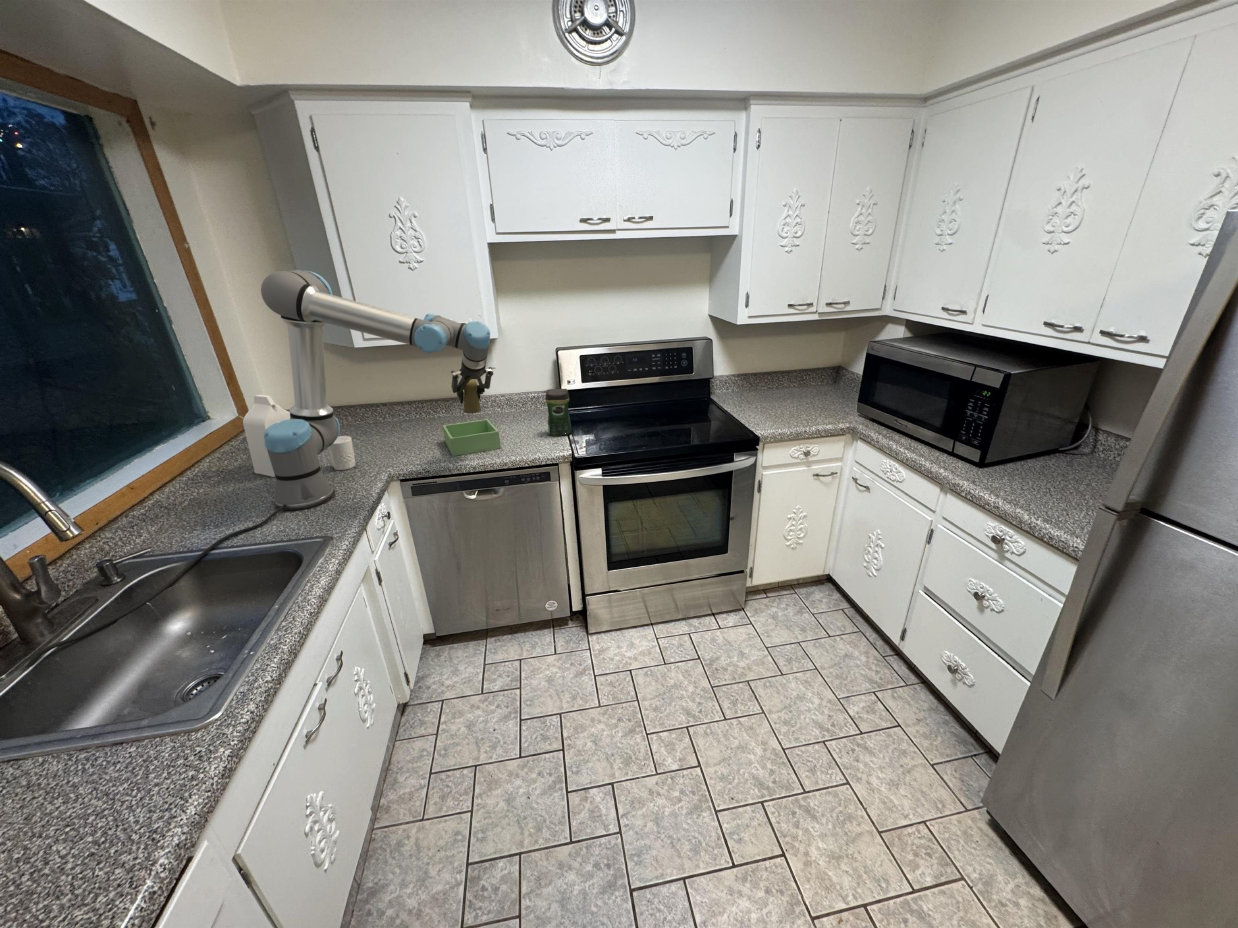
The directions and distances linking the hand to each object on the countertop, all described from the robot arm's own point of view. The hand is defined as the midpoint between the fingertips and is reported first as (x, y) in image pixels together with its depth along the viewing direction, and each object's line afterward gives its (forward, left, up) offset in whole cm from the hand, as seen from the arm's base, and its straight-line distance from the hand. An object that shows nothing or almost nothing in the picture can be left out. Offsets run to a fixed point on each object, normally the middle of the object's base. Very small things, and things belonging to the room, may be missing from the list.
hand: (469, 399), depth 180 cm
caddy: (+7, +4, -20) cm, 22 cm away
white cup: (-20, +39, -20) cm, 49 cm away
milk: (-25, +59, -20) cm, 68 cm away
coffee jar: (+25, -26, -20) cm, 41 cm away
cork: (-3, -2, -4) cm, 5 cm away
